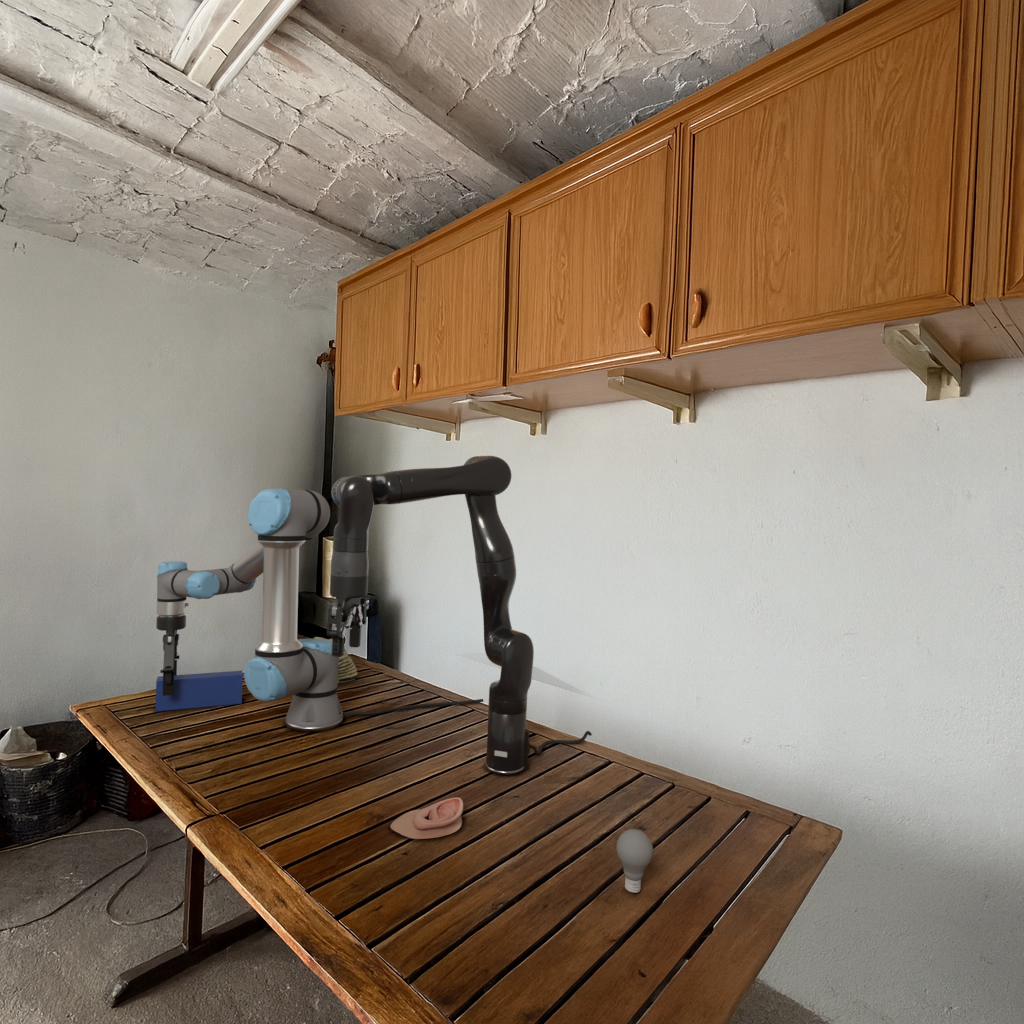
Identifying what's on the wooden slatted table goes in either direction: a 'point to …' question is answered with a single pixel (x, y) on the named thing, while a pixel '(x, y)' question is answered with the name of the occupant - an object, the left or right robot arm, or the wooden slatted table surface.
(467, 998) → the wooden slatted table surface
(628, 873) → the light bulb
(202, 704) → the bar
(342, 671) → the fossil
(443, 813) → the anatomical model
